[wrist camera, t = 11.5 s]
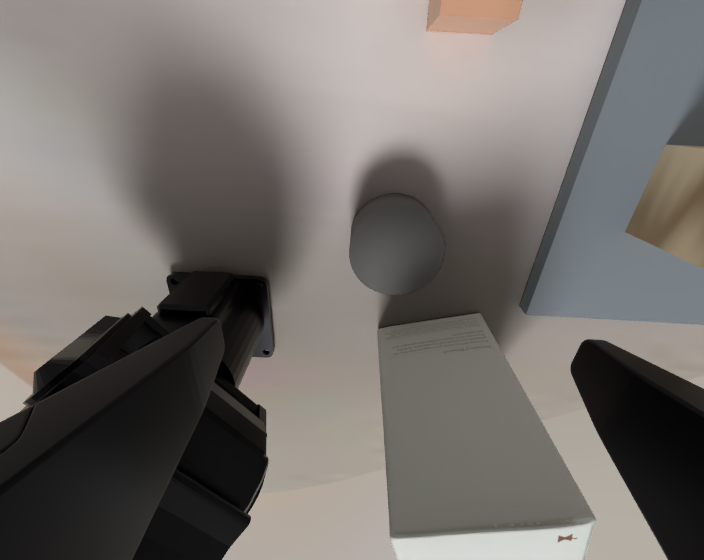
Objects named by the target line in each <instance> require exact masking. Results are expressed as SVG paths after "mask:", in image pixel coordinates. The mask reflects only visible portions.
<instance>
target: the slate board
mask: <svg viewBox="0 0 704 560" xmlns="http://www.w3.org/2000/svg"><path fill="white" fill-rule="evenodd" d="M665 145H687V146H704V0H627V1H626V4H625V7H624V10H623V13H622V15H621V18H620V21H619V24H618V27H617V30H616V33H615V35H614V38H613V41H612V44H611V47H610V50H609V52H608V55H607V58H606V61H605V64H604V67H603V70H602V72H601V75H600V78H599V81H598V84H597V87H596V89H595V92H594V95H593V98H592V101H591V104H590V107H589V109H588V112H587V115H586V118H585V121H584V124H583V126H582V129H581V132H580V135H579V138H578V141H577V144H576V146H575V149H574V152H573V155H572V158H571V161H570V163H569V166H568V169H567V172H566V175H565V178H564V181H563V183H562V186H561V189H560V192H559V195H558V198H557V200H556V203H555V206H554V209H553V212H552V215H551V218H550V220H549V223H548V226H547V229H546V232H545V235H544V237H543V240H542V243H541V246H540V249H539V252H538V255H537V257H536V260H535V263H534V266H533V269H532V272H531V275H530V277H529V280H528V283H527V286H526V289H525V292H524V294H523V297H522V300H521V303H520V308H521V309H522V310H523V311H524V313H525V314H526V315H541V316H559V317H577V318H594V319H612V320H630V321H647V322H665V323H683V324H700V325H704V269H702V268H700V267H698V266H696V265H694V264H692V263H690V262H688V261H685V260H683V259H681V258H679V257H677V256H675V255H673V254H670V253H668V252H666V251H664V250H662V249H660V248H658V247H655V246H653V245H651V244H649V243H647V242H645V241H643V240H641V239H638V238H636V237H634V236H632V235H630V234H628V233H626V232H625V231H626V228H627V226H628V224H629V222H630V220H631V218H632V216H633V213H634V211H635V209H636V207H637V205H638V203H639V201H640V198H641V196H642V194H643V192H644V190H645V188H646V186H647V183H648V181H649V179H650V177H651V175H652V173H653V171H654V169H655V166H656V164H657V162H658V160H659V158H660V156H661V154H662V151H663V149H664V147H665Z"/></svg>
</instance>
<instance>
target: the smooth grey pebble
mask: <svg viewBox="0 0 704 560" xmlns="http://www.w3.org/2000/svg"><path fill="white" fill-rule="evenodd" d="M444 255H445V242H444V238H443V235H442V232H441V230H440V228H439V227H438V225H437V224H436V222H435V220H434V219H433V217H432V216H431V214H430V213H429V211H428V210H427V208H426V207H425V206H424V205H423V204H422V203H421V202H419V201H418V200H417V199H415V198H413V197H411V196H408V195H405V194H399V193H390V194H384V195H381V196H378V197H376V198H374V199H372V200H370V201H369V202H367V203H366V204H365V205H364V206H363V207H362V208H361V209H360V210H359V212H358V213H357V215H356V217H355V219H354V221H353V224H352V229H351V239H350V249H349V257H350V263H351V266H352V269H353V271H354V273H355V274H356V276H357V277H358V279H359V280H360V281H361V282H362V283H363V284H364V285H366V286H367V287H369V288H370V289H372V290H374V291H377V292H379V293H383V294H389V295H400V294H406V293H410V292H413V291H416V290H418V289H420V288H421V287H423V286H425V285H426V284H427V283H429V282H430V281H431V280H432V279H433V278H434V277H435V275H436V274H437V273H438V271H439V269H440V268H441V265H442V263H443V260H444Z"/></svg>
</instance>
